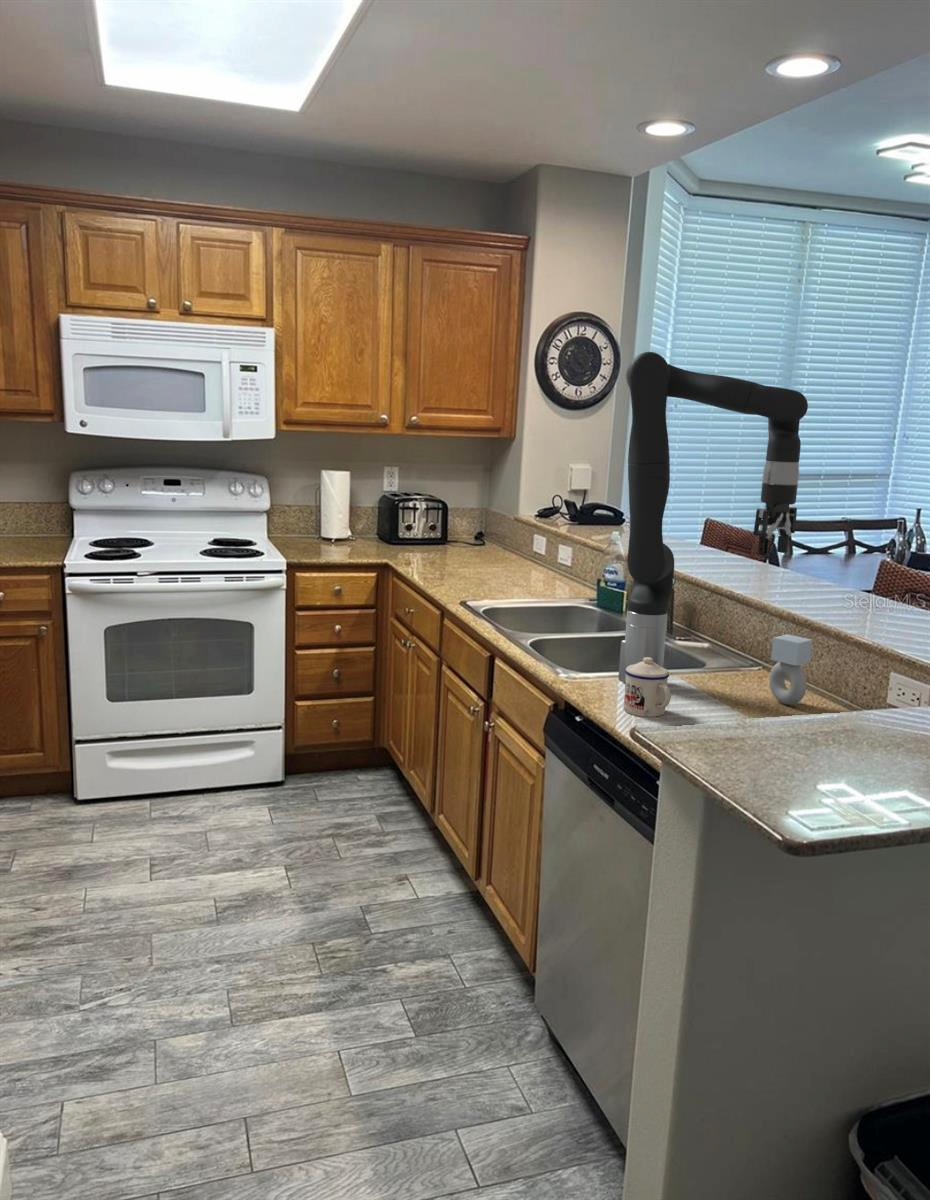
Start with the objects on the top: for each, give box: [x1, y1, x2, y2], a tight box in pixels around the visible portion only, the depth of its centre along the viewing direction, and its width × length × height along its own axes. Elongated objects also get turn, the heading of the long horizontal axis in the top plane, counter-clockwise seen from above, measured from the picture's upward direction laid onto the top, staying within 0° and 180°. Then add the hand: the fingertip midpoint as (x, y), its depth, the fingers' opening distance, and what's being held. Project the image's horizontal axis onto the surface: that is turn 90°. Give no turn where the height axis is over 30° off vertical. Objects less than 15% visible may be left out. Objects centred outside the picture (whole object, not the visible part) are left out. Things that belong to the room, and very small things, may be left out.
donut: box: [768, 661, 808, 706], centre depth 203 cm, size 10×4×10 cm, turn 24°
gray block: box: [770, 633, 813, 666], centre depth 202 cm, size 6×6×5 cm
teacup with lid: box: [623, 657, 672, 718], centre depth 193 cm, size 12×9×12 cm
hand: (772, 553), depth 208 cm, fingers open, 8 cm apart
